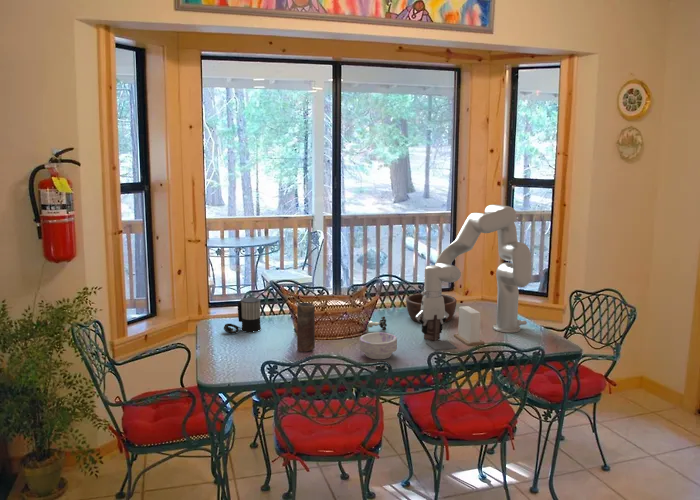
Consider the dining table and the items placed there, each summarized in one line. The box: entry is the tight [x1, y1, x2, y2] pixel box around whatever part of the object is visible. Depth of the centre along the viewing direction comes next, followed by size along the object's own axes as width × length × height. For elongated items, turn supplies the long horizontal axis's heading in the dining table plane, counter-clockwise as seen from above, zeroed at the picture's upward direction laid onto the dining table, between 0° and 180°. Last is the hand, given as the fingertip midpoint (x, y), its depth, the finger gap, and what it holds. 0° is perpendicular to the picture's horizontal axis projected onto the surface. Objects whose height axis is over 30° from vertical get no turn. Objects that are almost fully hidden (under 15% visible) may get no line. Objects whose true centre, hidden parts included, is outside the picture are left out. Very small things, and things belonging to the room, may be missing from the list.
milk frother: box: [223, 296, 262, 334], centre depth 279 cm, size 14×16×15 cm
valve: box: [366, 316, 388, 333], centre depth 280 cm, size 7×7×12 cm
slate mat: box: [425, 339, 457, 351], centre depth 258 cm, size 10×10×1 cm
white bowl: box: [359, 331, 398, 360], centre depth 245 cm, size 15×15×8 cm
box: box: [423, 315, 441, 342], centre depth 267 cm, size 6×4×12 cm
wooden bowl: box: [405, 293, 457, 323], centre depth 301 cm, size 25×25×10 cm
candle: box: [296, 301, 316, 353], centre depth 251 cm, size 8×7×20 cm
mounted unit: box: [453, 305, 485, 347], centre depth 265 cm, size 8×14×14 cm, turn 15°
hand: (432, 332), depth 267 cm, fingers closed on box, 6 cm apart
